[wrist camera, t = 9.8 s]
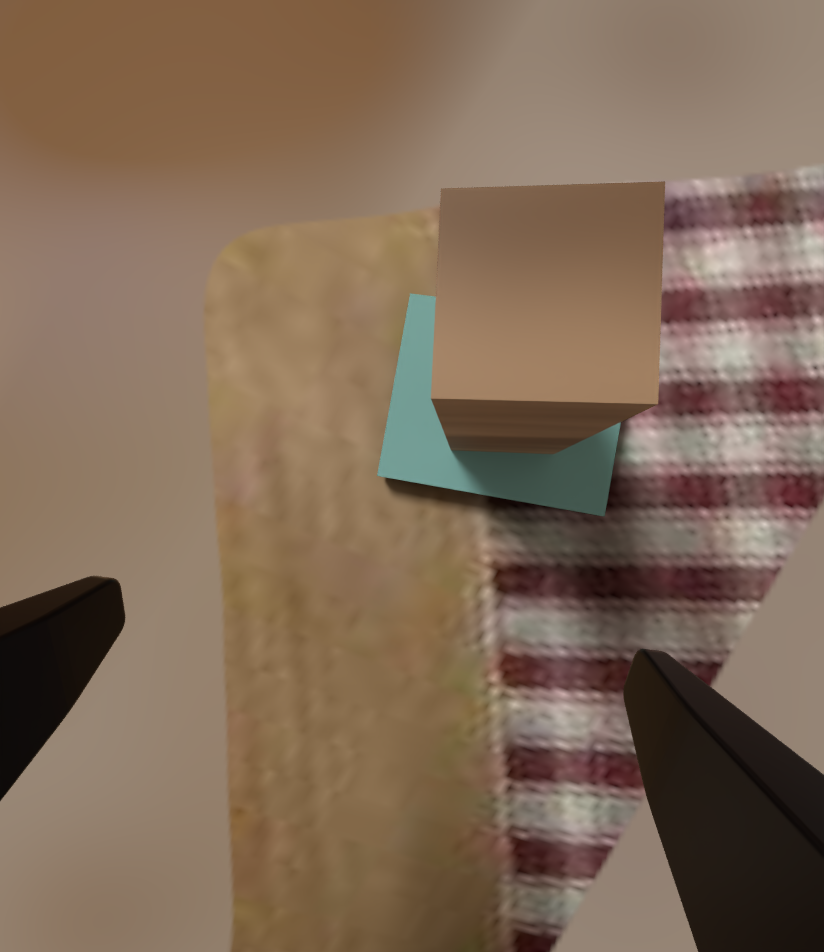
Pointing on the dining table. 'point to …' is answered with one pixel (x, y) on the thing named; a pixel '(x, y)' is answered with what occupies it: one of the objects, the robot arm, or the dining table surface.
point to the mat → (487, 473)
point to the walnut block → (546, 313)
